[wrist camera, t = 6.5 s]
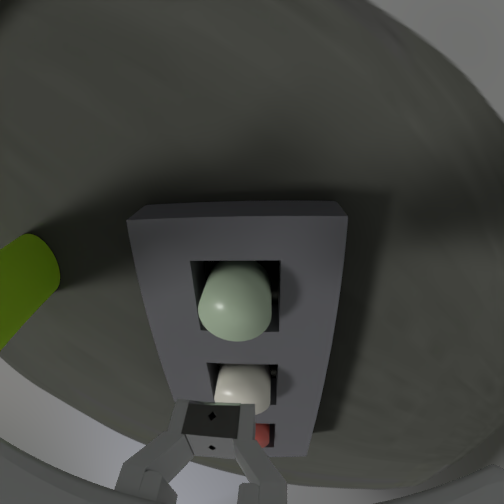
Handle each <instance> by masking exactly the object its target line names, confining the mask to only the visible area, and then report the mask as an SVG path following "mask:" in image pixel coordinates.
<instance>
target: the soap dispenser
mask: <svg viewBox="0 0 504 504" xmlns="http://www.w3.org/2000/svg"><path fill="white" fill-rule="evenodd" d="M59 283H60V270H59V266H58V263H57V260H56V258H55V256H54V254H53V252H52V251H51V249H50V248H49V247H48V245H47V244H46V243H45V242H44V241H43V240H42V239H40V238H39V237H37V236H35V235H33V234H24V235H22V236H20V237H19V238H17V239H15V240H14V241H12V242H11V243H10V244H8V245H7V246H5V247H4V248H2V249H1V250H0V351H1V350H2V348H3V347H4V346H5V345H6V344H7V342H8V341H9V340H10V339H11V338H12V337H13V336H14V334H15V333H16V332H17V331H18V330H19V329H20V328H21V326H22V325H23V324H24V323H25V322H26V321H27V320H28V319H29V318H30V317H31V316H32V314H33V313H34V312H35V311H36V310H37V309H38V308H39V307H40V306H41V305H42V304H43V303H44V302H45V301H46V300H47V299H48V298H49V297H50V296H51V295H52V294H53V293H54V292H55V291H56V289H57V288H58V286H59Z"/></svg>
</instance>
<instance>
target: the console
mask: <svg viewBox="0 0 504 504" xmlns="http://www.w3.org/2000/svg"><path fill="white" fill-rule="evenodd" d="M126 222H127V228H128V234H129V239H130V244H131V249H132V254H133V259H134V263H135V268H136V272H137V277H138V281H139V285H140V290H141V294H142V298H143V302H144V305H145V309H146V313H147V317H148V320H149V324H150V328H151V331H152V335H153V338H154V341H155V345H156V348H157V351H158V354H159V358H160V361H161V364H162V367H163V370H164V373H165V376H166V379H167V382H168V385H169V388H170V390H171V393H172V396H173V399H174V401H175V402H176V401H177V399H186V400H194V401H204V402H215V400H214V396H215V391H216V385H217V380H218V374H219V372H218V366H217V363H226V364H277V373H276V378H271V390H270V405H269V407H268V408H267V410H265V411H264V412H262V413H260V414H257V415H255V418H256V423H261V424H270V432H269V444H268V445H267V446H266V447H264V448H262V449H263V450H264V452H265V453H266V455H267V456H268V457H296V456H306V455H307V451H308V448H309V444H310V440H311V437H312V433H313V429H314V425H315V421H316V417H317V413H318V408H319V404H320V400H321V395H322V391H323V386H324V381H325V377H326V372H327V367H328V362H329V356H330V351H331V346H332V340H333V334H334V328H335V322H336V316H337V309H338V303H339V296H340V288H341V281H342V273H343V264H344V255H345V246H346V236H347V224H348V216H347V214H346V213H345V212H344V210H343V209H342V208H341V206H340V205H339V204H338V203H337V201H222V202H194V203H172V204H154V205H145V206H144V207H142V208H141V209H140V210H139V211H137V212H136V213H135V214H133V215H132V216H131V217H130V218H128V219H127V220H126ZM256 260H279V298H278V305H271V307H272V315H271V321H270V324H269V326H268V327H267V329H266V330H265V331H264V332H263V333H262V334H261V335H259V336H258V337H256V338H254V339H251V340H247V341H239V342H236V341H228V340H224V339H221V338H219V337H217V336H215V335H213V334H212V333H211V332H209V331H208V330H207V329H206V328H205V327H204V325H203V324H202V322H201V320H200V318H199V314H198V305H199V302H200V299H201V296H202V293H203V290H204V288H205V285H206V280H205V272H204V263H203V261H256Z"/></svg>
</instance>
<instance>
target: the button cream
mask: <svg viewBox="0 0 504 504" xmlns="http://www.w3.org/2000/svg"><path fill="white" fill-rule="evenodd" d="M270 390H271V370H270V367H269V365H268V364H226V363H221V365H220V369H219V374H218V380H217V385H216V391H215V396H214V400H215V402H221V403H241V404H255V415H257V414H260V413H262V412H264V411H265V410H267V408H268V407H269V405H270Z"/></svg>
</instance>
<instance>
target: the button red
mask: <svg viewBox="0 0 504 504" xmlns="http://www.w3.org/2000/svg"><path fill="white" fill-rule="evenodd" d="M269 432H270V424H261V423H256V432H255V440H257V442H258V443H259V445H260V446H261V448H264V447H266V446H267V445H268V444H269Z"/></svg>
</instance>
